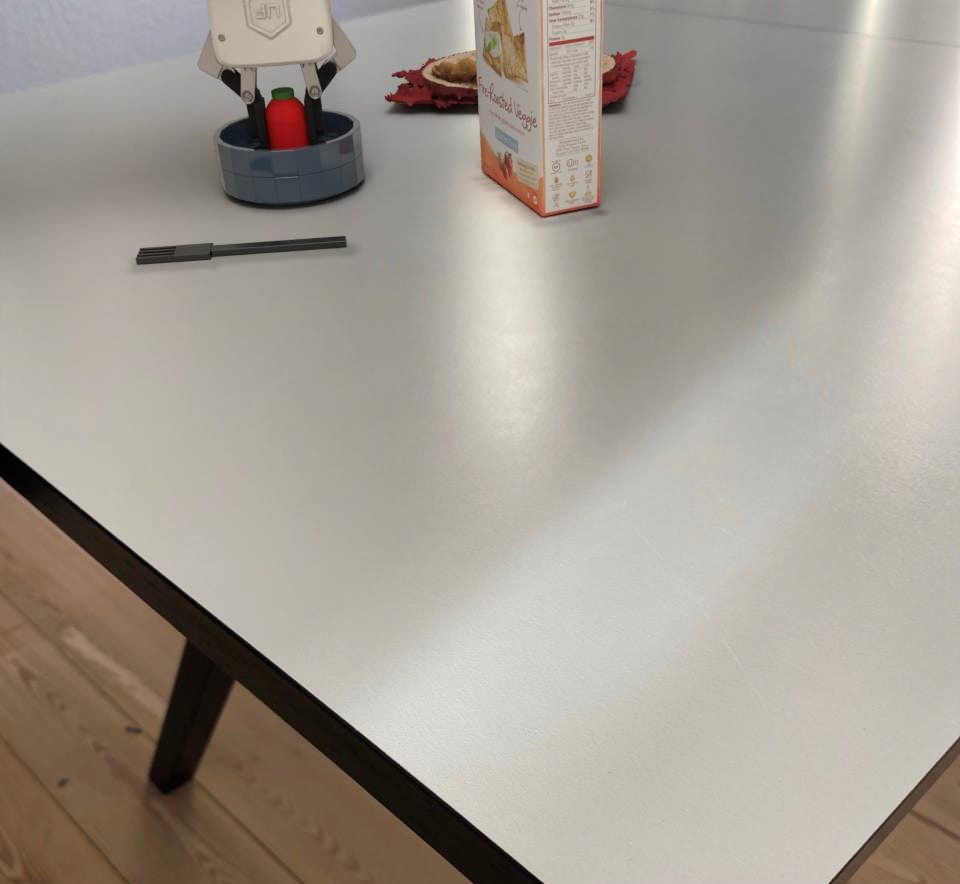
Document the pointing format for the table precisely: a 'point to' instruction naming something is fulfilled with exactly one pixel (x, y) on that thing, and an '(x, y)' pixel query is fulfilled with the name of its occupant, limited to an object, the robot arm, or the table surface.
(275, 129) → the red rounded piece
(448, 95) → the plate with food
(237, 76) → the robot arm
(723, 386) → the table surface
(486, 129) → the cracker box
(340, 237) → the fork
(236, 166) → the bowl
